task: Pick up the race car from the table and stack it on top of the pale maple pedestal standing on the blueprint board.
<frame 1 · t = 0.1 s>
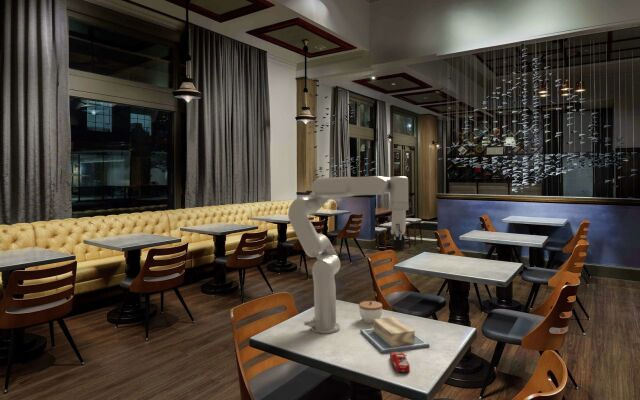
hand: (399, 247, 158), 37 cm above the table, tool pointing down, fingers open, 9 cm apart
race car: (399, 366, 135), on the table
lidded jar: (370, 321, 179), on the table
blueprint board: (393, 339, 157), on the table
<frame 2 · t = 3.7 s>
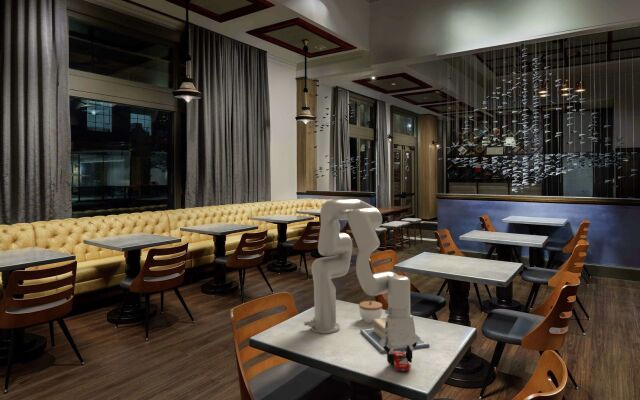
hand: (399, 361, 135), 1 cm above the table, tool pointing down, fingers closed on race car, 6 cm apart
race car: (399, 365, 135), on the table, touching gripper
everything else where it was.
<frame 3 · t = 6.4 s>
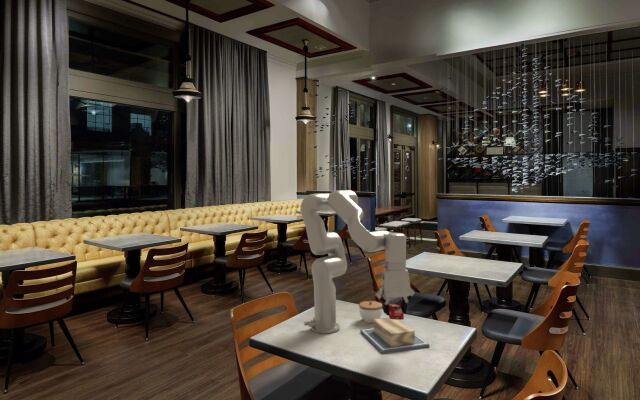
hand: (395, 312, 145), 15 cm above the table, tool pointing down, fingers closed on race car, 6 cm apart
race car: (395, 315, 145), point 14 cm above the table, touching gripper
everything else where it was.
when the fingers open (8 cm above the table, at t = 9.0 s): race car drops 1 cm, resting on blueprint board.
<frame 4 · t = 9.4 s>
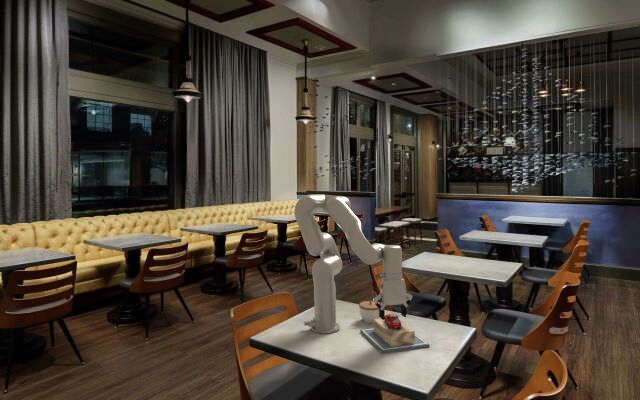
hand: (393, 317, 157), 9 cm above the table, tool pointing down, fingers open, 9 cm apart
race car: (393, 325, 157), point 6 cm above the table, touching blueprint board
everything else where it was.
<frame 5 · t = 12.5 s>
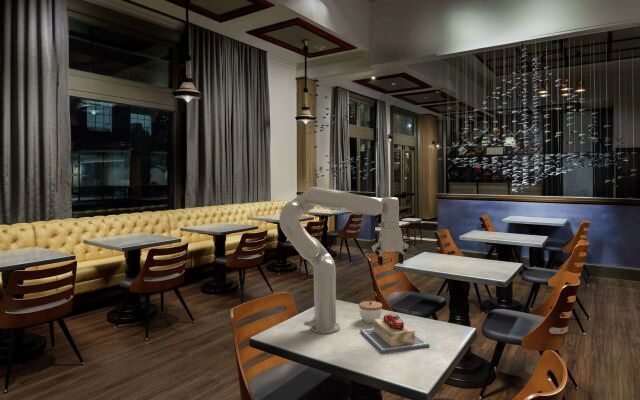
hand: (390, 264, 169), 28 cm above the table, tool pointing down, fingers open, 9 cm apart
at the end: race car inside the target area on the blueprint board (0.4 cm from its centre), point 5.8 cm above the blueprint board's base; race car tilted 0°; the gripper is holding nothing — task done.
